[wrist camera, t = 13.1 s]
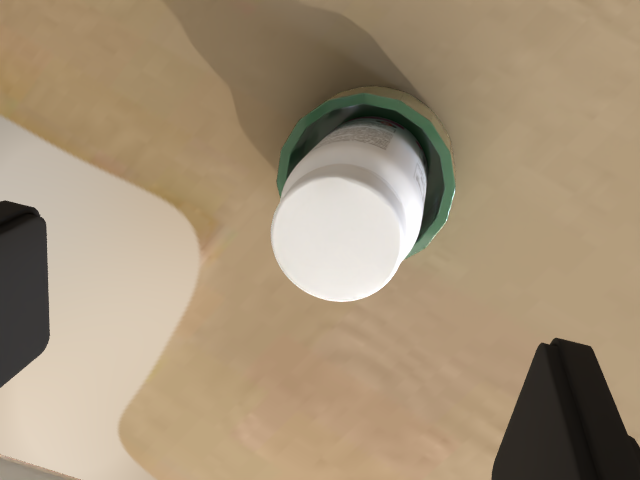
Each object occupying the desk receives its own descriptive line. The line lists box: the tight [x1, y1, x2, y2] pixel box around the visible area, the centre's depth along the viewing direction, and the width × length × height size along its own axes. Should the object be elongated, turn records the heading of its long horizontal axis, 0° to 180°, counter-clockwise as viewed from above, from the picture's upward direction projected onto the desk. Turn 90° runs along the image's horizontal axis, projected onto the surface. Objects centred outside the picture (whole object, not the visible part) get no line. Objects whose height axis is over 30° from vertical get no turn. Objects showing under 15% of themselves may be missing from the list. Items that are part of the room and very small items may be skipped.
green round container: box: [277, 86, 456, 261], centre depth 23 cm, size 7×7×3 cm
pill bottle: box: [271, 116, 428, 302], centre depth 21 cm, size 5×5×8 cm
